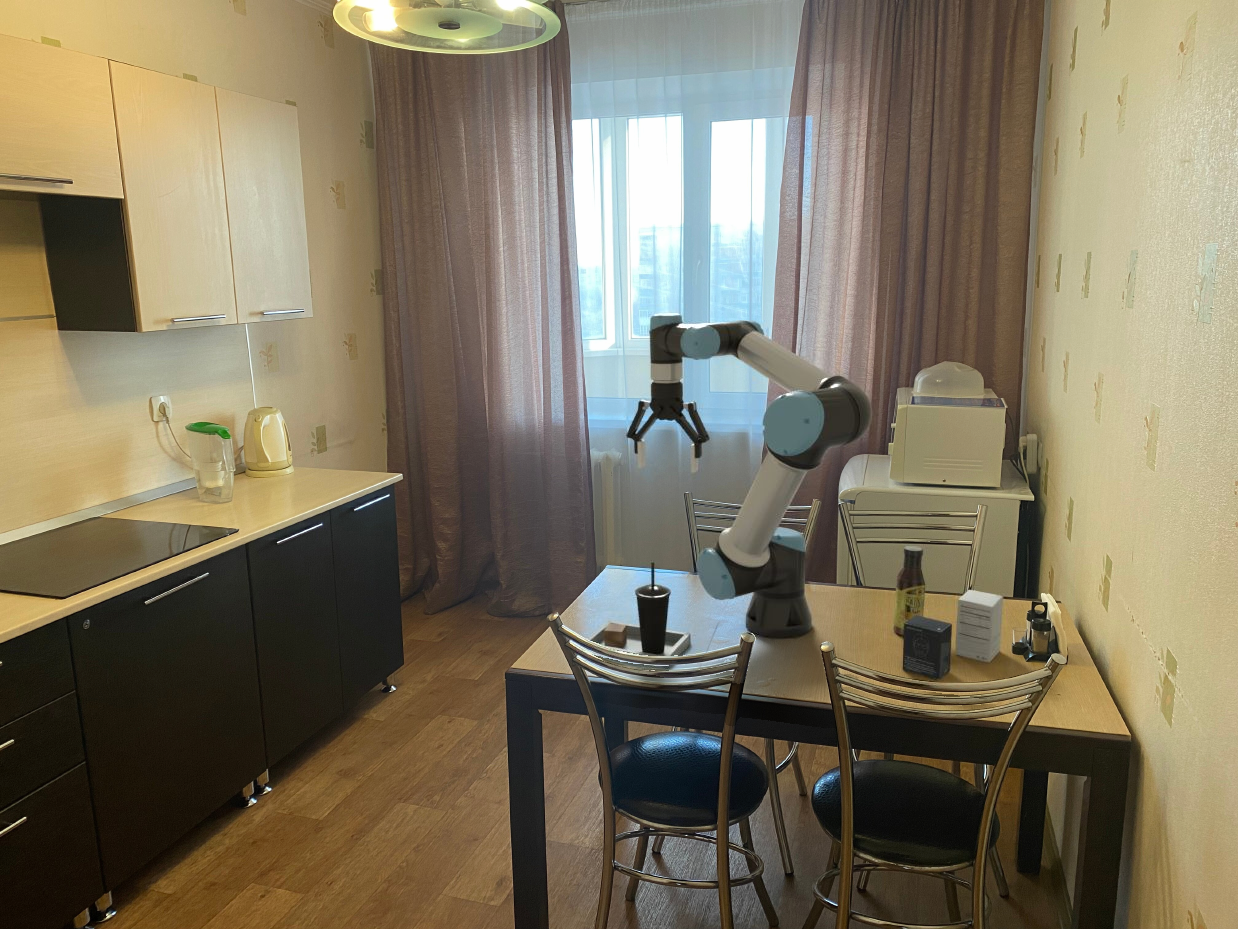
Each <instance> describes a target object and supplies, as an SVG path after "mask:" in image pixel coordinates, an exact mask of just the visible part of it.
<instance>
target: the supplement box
mask: <svg viewBox="0 0 1238 929" xmlns="http://www.w3.org/2000/svg"><path fill="white" fill-rule="evenodd" d="M1003 604H1004V596H1002V595H999V594H994V593H989V592H983V591H978V590H975V589H973V590H972V589H968V590H967V591H966V592H965V593H964V594H962V595H961V596H960V597H959V598H958V600H957V613H956V614H957V615H956V616H957V617H956V631H955V650H954V654H955V655H957V656H961V657H964V658H968V659H972V660H976V661H981V662H984V663H991V662H992V661H993V659H994V658H995V657H996V656H997V654H999V652H1000V651H1001V638H1002V636H1001V635H1002V623H1003V622H1002V621H1003V606H1004V605H1003Z"/></svg>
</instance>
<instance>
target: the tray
mask: <svg viewBox="0 0 1238 929" xmlns="http://www.w3.org/2000/svg"><path fill="white" fill-rule="evenodd" d="M608 624H622V625H626V628H627V642H626V644H625V645H624V647H623V649H620V648H614V647H609V646H605V641H604V630H605V629H606V627H607V626H608ZM691 636H692V635H691V633H689V632H682V631H676V630H669V629H666V637H665V648H664V652H663V653H662V654H659V655H655V654H650V653H644V652H642V645H641V635H640V625H638V624H632V623H627V622H626V623H625V622H619V621H612V620H608V621H606V622H605V623H604V624H603V625H602V626H601V627H599V628H598V629H596V631H594V632H593V633H592V634H591V635H590V636H588V637H587V638H586V639H588V640H590V641H593V642H596V643H599V644H602V645H604V646H605V647H608V648H610V649H613V650H617V651H623V652H627V653H633V654H639V655H648V656H674V655H679V656H680V655H681V654H682V653H683V652H684V651H685V650H686V649H687V647H688V646H689V645H690V644H691V640H692V638H691ZM653 667H654V668H655V667H656V668H659V669H668V668H669V667H670V666H653Z"/></svg>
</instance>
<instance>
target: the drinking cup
mask: <svg viewBox="0 0 1238 929" xmlns="http://www.w3.org/2000/svg"><path fill="white" fill-rule="evenodd" d="M650 571H651V572H650V577H651V578H650V580H651V581H650V582H651V583H650V584H645V585H643V586H640V587H637V588H636V589H635V591H634V594H635V596H636V603H637V615H638V623H639V626H640V635H641V645H642V652H644V653H650V654H655V655H659V654H662V653H663V652H664V648H665V637H666V630H667V625H668V615H669V602H670V596H671V594H672V591H671V589H670V588H669V587H666V586H664V585H661V584H656V583H655V562H651V563H650Z"/></svg>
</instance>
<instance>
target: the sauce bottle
mask: <svg viewBox="0 0 1238 929" xmlns="http://www.w3.org/2000/svg"><path fill="white" fill-rule="evenodd" d="M903 548H904V549H903V554H904V558H903V567H902V568H901V570H899V573H898V575H897V578H896V586H895V596H894V597H895V598H894V610H893V631H894V632H895V634H898V635H899V636H904V623H905V622H906V621H908V620H909V619H911V618H912V617H914V616H916V615H918V616H922V617H924V612H925V611H924V610H925V608H924V607H925V599H926V598H925V597H926V587H927V586H926V581H925V578H924V574H923V571H922V570H923V569H922V562H923V560H922V559H923V558H922V557H923V556H924V549H923V547H920V546H917V545H916V546H915V545H907V546H904V547H903Z"/></svg>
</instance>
